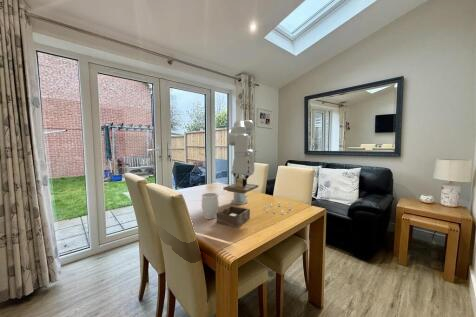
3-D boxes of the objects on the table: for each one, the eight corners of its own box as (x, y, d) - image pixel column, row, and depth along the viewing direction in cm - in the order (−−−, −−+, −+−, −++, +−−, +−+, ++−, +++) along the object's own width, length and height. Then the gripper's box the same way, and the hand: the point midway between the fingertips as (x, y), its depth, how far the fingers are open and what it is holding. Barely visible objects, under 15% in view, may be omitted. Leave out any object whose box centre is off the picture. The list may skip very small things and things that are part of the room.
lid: (238, 185, 139) (238, 174, 138) (258, 188, 131) (258, 177, 131) (223, 191, 125) (223, 179, 124) (244, 194, 117) (244, 182, 117)
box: (230, 215, 140) (230, 205, 140) (249, 220, 133) (249, 209, 133) (216, 224, 127) (216, 213, 126) (236, 229, 120) (236, 217, 119)
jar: (202, 221, 132) (201, 197, 130) (201, 215, 142) (201, 193, 140) (219, 220, 134) (219, 196, 132) (217, 214, 144) (217, 192, 142)
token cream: (232, 216, 136) (232, 213, 136) (237, 217, 134) (237, 214, 134) (228, 218, 133) (228, 215, 132) (234, 220, 131) (234, 216, 130)
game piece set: (271, 204, 166) (271, 199, 166) (295, 209, 154) (295, 204, 153) (257, 210, 151) (257, 205, 151) (283, 217, 139) (283, 211, 138)
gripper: (256, 155, 125) (256, 185, 127) (232, 153, 134) (233, 182, 136) (250, 156, 119) (250, 188, 120) (226, 154, 127) (226, 184, 129)
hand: (241, 184), depth 128 cm, fingers closed on lid, 4 cm apart
